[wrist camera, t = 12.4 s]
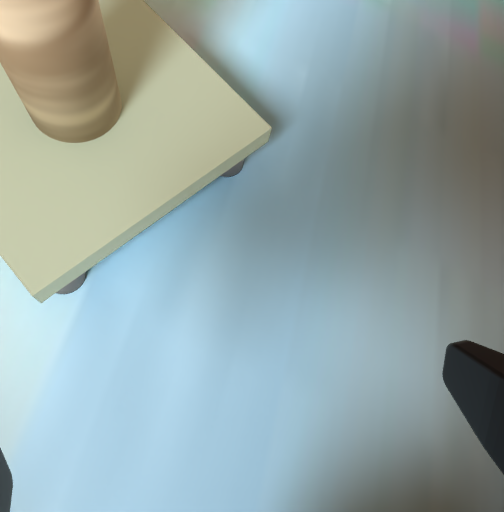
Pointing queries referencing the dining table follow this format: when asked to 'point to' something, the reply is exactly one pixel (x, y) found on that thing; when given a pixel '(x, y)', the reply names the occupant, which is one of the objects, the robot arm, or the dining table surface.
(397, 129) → the dining table surface
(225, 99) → the peg shelf
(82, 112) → the post
